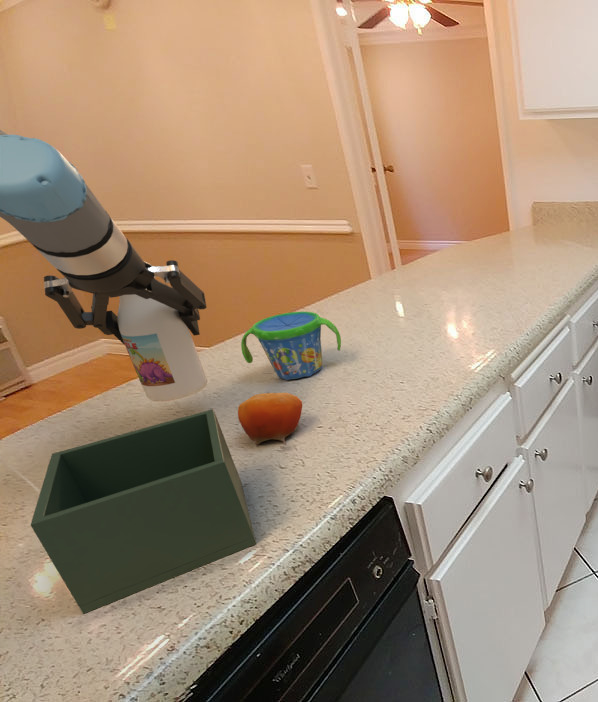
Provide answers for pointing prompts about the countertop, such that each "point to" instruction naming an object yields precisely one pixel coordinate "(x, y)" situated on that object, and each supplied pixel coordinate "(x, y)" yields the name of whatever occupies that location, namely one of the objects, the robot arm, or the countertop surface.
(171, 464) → the bin
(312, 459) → the countertop surface
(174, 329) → the milk bottle
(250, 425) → the fruit
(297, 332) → the snack cup
